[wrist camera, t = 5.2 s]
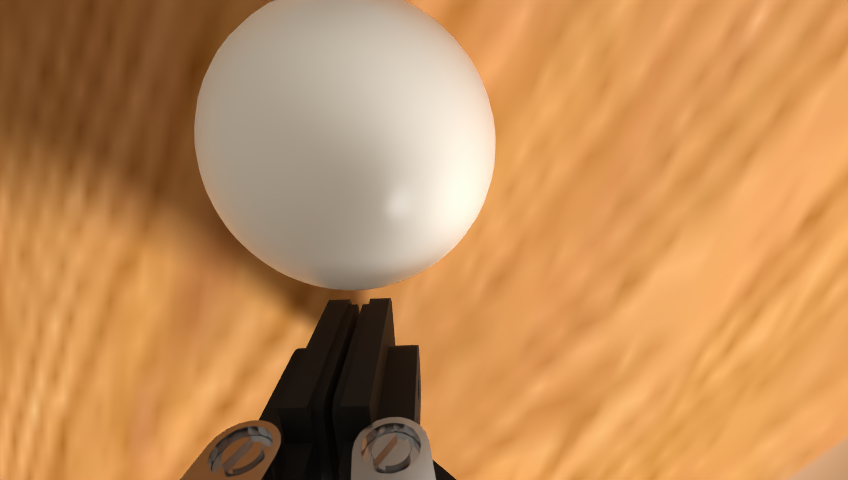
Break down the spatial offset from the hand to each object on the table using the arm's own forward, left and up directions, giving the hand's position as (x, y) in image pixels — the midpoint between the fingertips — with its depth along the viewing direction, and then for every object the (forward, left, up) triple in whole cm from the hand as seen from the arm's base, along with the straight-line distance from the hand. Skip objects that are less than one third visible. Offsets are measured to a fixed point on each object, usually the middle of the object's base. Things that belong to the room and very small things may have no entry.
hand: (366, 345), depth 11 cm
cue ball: (+4, +3, +1) cm, 6 cm away
